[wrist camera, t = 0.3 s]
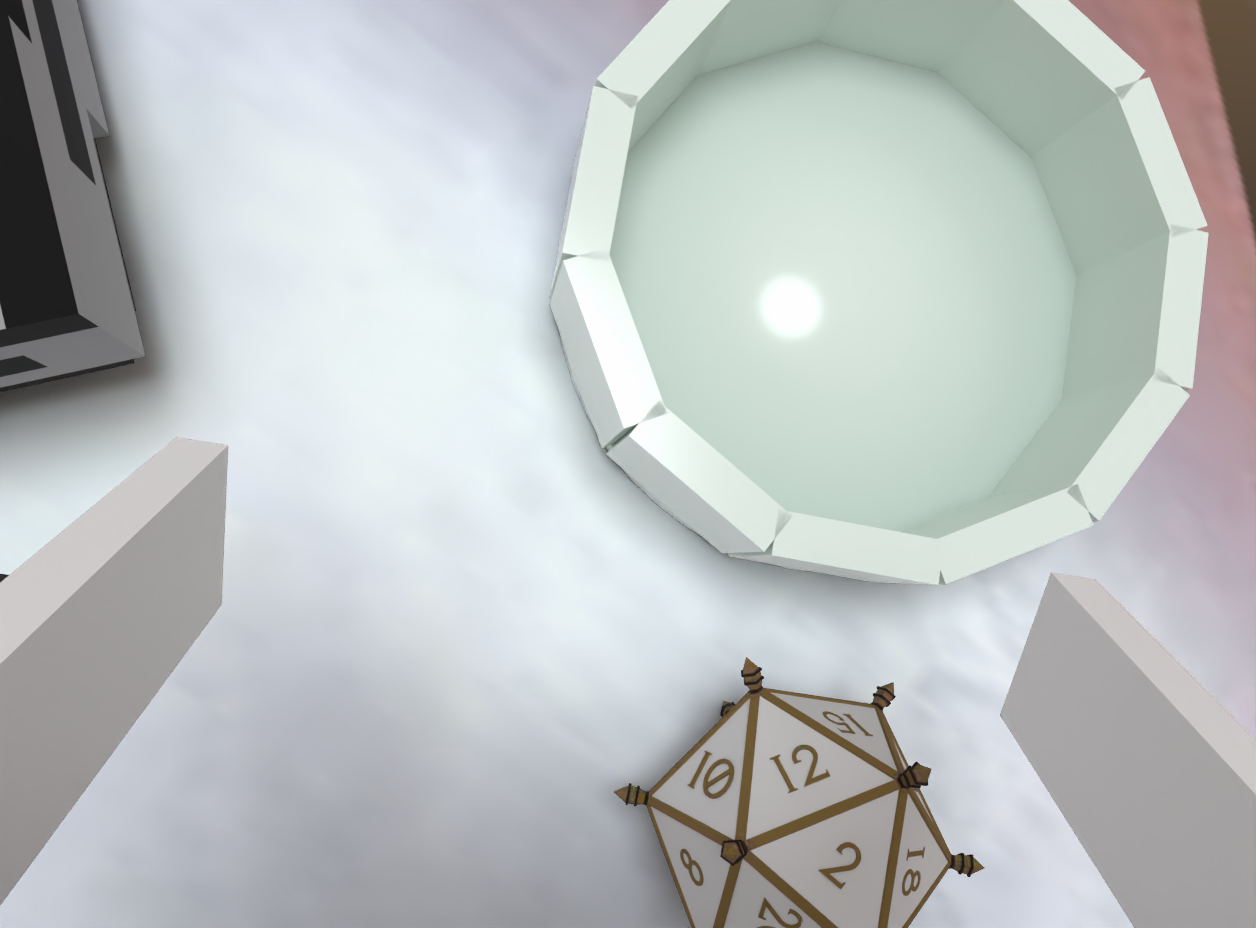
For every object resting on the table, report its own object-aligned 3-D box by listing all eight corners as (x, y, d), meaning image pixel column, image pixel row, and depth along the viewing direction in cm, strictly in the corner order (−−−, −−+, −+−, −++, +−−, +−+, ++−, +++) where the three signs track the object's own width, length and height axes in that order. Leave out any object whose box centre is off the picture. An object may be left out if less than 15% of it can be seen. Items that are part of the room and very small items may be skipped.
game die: (765, 813, 35) (927, 1109, 27) (543, 796, 31) (655, 1139, 22) (898, 607, 31) (1128, 872, 23) (671, 558, 27) (854, 857, 19)
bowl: (1053, 616, 33) (1167, 626, 27) (507, 518, 31) (515, 508, 25) (1114, 100, 35) (1230, 16, 30) (608, -28, 33) (636, -145, 27)
